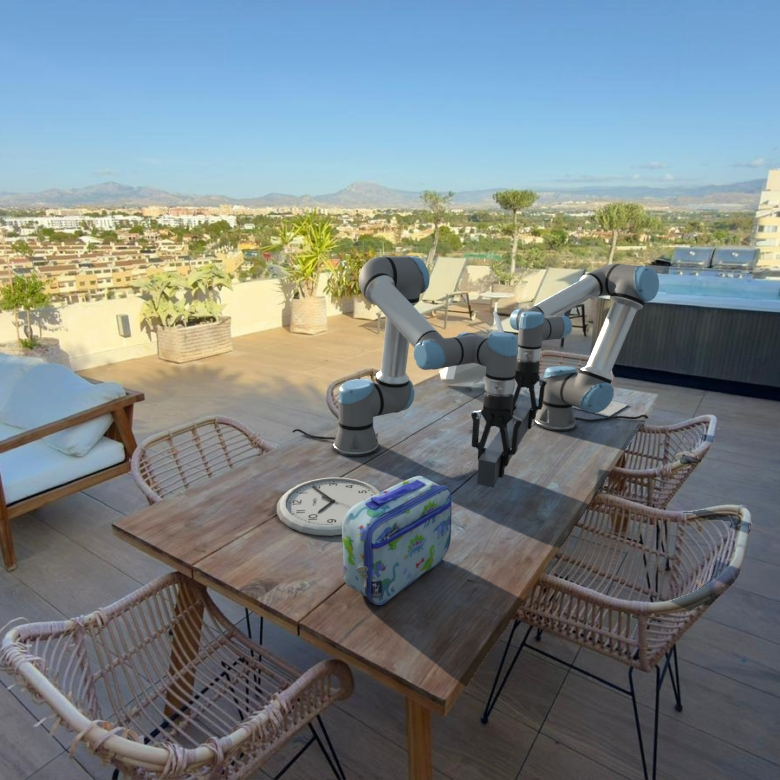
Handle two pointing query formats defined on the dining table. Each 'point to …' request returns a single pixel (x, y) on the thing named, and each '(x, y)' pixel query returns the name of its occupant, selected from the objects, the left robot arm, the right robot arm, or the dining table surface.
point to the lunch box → (395, 537)
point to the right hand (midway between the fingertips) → (521, 426)
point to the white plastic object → (470, 369)
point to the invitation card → (611, 408)
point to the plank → (501, 448)
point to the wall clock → (322, 504)
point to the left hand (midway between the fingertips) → (492, 473)
